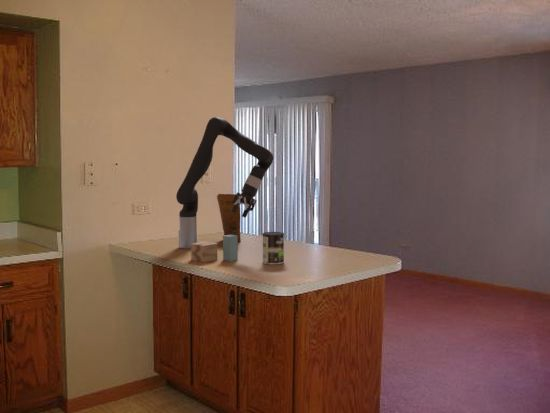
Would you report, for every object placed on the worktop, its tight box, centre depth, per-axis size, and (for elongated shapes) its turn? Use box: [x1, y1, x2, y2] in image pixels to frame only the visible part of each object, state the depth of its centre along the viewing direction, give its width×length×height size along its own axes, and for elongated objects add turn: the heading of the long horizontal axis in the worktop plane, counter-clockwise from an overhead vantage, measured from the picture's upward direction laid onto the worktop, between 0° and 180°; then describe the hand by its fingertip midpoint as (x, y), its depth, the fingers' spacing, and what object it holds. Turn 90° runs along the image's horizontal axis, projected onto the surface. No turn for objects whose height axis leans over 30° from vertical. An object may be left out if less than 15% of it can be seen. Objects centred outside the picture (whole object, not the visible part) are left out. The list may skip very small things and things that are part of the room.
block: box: [190, 241, 218, 263], centre depth 277 cm, size 9×9×8 cm
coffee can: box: [261, 231, 285, 265], centre depth 269 cm, size 10×10×14 cm
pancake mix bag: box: [216, 193, 242, 243], centre depth 335 cm, size 7×19×28 cm, turn 43°
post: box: [222, 234, 239, 262], centre depth 276 cm, size 5×5×12 cm
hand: (238, 214), depth 288 cm, fingers open, 8 cm apart
